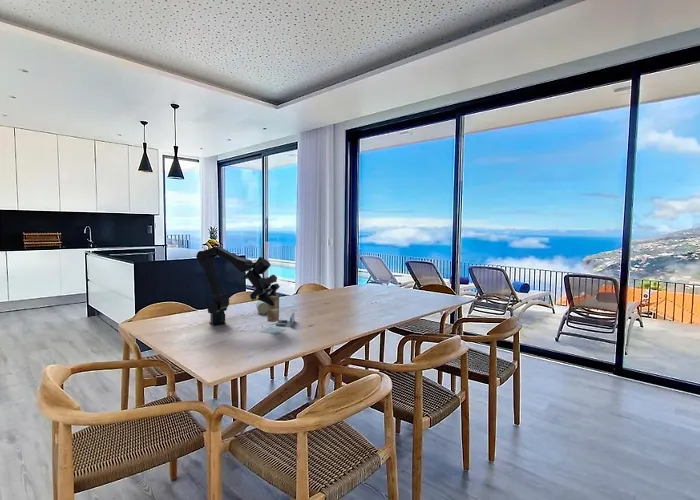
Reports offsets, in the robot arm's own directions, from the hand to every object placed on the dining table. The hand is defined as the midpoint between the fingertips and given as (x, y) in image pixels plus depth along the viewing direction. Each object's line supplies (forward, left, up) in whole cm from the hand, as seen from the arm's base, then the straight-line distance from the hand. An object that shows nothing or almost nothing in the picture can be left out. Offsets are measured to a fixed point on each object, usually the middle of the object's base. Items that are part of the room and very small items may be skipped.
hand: (275, 304), depth 180 cm
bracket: (+11, +8, -13) cm, 19 cm away
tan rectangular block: (-1, +1, -8) cm, 8 cm away
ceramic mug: (+16, +36, -14) cm, 42 cm away
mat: (-1, +1, -13) cm, 13 cm away
